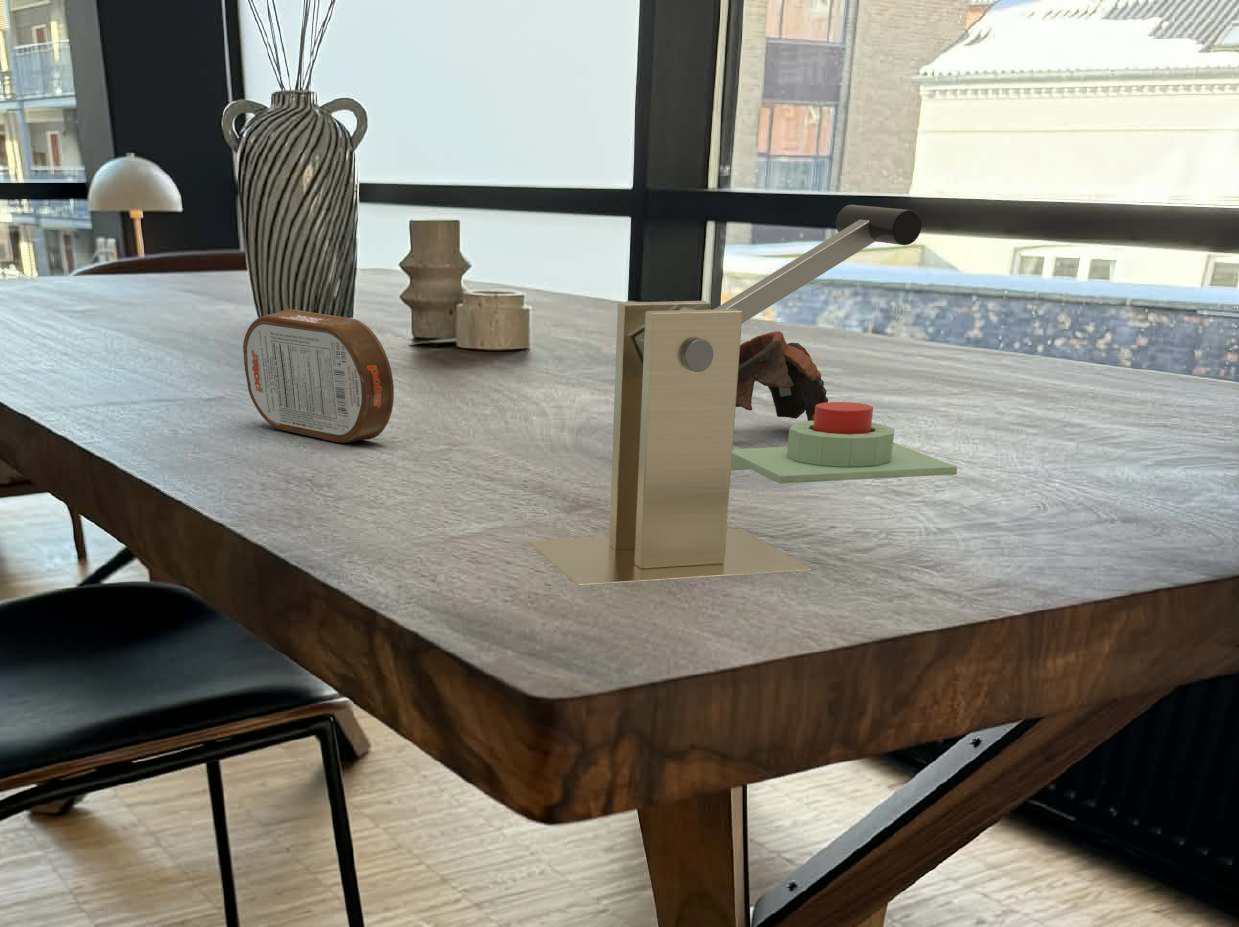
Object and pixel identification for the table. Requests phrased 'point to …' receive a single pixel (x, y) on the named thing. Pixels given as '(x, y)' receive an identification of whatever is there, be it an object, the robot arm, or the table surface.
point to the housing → (838, 457)
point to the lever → (825, 256)
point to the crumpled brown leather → (780, 375)
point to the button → (843, 418)
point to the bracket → (671, 456)
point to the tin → (318, 375)
